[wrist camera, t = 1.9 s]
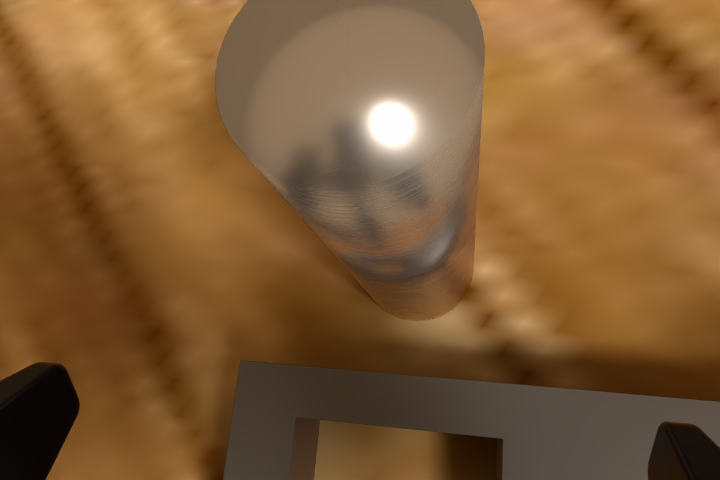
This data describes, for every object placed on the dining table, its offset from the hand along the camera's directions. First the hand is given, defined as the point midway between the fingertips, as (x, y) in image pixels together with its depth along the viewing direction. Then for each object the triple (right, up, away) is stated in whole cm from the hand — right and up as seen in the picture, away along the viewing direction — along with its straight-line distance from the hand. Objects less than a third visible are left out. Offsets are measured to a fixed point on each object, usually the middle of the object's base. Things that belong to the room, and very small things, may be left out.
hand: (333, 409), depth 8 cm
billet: (+3, +2, +12) cm, 12 cm away
